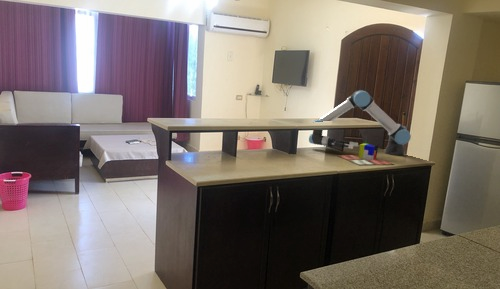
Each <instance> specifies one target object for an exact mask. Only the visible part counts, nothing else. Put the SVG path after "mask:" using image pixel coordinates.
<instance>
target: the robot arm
mask: <svg viewBox="0 0 500 289" xmlns="http://www.w3.org/2000/svg"><path fill="white" fill-rule="evenodd" d="M356 107H359V109H360V110H362V111H364V112H367V113H368V114H369V115H370V117H372V118H373V119H374V120H375V121H376V122H377V123H378V124H379V125H380V126H382V128H383V129H385V131H387V132H388V143H387V145H386V147H385V149H384V153H385V154H388V155H393V156H405V152H406V150H405V146H404V145H406V144H408V143H409V142H410V140H411V138H412V137H411V136H412V135H411V133H410V131H409V130H408V129H407V127H406V126H405V125H402V124H401V123H397V122H395V121H394V120H393V119H392V118H391V117H390V116H389V115H388V114H387V113H386V112H385V111H384V110H382V109H381V108H380V107H379V106H378V104H376V102H375V99H374V98H373V97H372V96H371V95H370V93H368V92H367V91H365V90H361V89H359V90H356V91H354V92H353V93H352V94H351V95H349V96H347V98H346V99H345V101H343V102H342V103H340V104H339V105H337V106H336V107H335V108H332V109H331V110H330V111H329V112H327V113H326V114H324V115H322V116H321V117H320V118H318V119H314V120H313V122H314V121H315V122H323V121H331V122H333V121H334V120H336V119H337V118H339V117H340V116H342V115H343V114H345V113H346V112H348V111H349V110H351V109H355V108H356ZM323 130H324V129H323ZM323 130H312V134H309V136H308V142H309V143H310V144H312V145H318V146H323V147H330V148H333V147H338V148H342V149H344V148H345V149H351V150H353V149H354V147H359V143H358V142H355V141H354V142H353V141H351V140H341V139H340V140H338V139H336V140H335V137H332V136H326V135H323Z"/></svg>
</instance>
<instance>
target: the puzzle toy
mask: <svg viewBox="0 0 500 289" xmlns="http://www.w3.org/2000/svg"><path fill="white" fill-rule="evenodd" d="M378 150H379V144H372V143H369V142H368V143H366V142H364V143H361V144H359V151H358V157H359V158H361V159H364V160H377V157H378Z"/></svg>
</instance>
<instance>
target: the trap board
mask: <svg viewBox="0 0 500 289" xmlns="http://www.w3.org/2000/svg"><path fill="white" fill-rule="evenodd" d="M336 156H337V157H338V158H341V159H343V160H346V161H348V162H350V163H352V164H354V163H355V164H354V165H358V166H395V164H394V163H392V162H390V161H386V160H384V159H373V160H368V159H363V158H359V156H356V155H354V154H353V155H352V154H350V155H349V154H348V155H343V154H342V155H340V154H338V155H336Z"/></svg>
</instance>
